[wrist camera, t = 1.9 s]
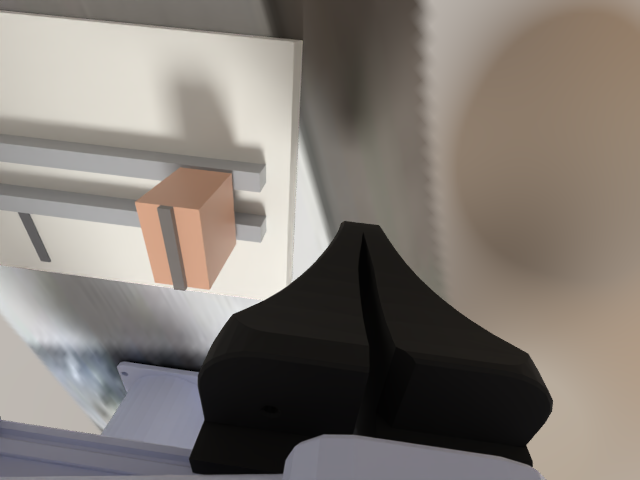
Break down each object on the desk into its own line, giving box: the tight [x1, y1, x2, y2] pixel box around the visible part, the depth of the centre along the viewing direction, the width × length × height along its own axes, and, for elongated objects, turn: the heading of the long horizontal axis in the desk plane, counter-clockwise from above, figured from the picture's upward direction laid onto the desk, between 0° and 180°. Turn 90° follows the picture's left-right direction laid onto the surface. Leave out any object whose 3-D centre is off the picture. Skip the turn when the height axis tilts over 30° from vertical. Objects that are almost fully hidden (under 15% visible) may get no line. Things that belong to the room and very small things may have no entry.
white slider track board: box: [0, 10, 303, 300], centre depth 15 cm, size 12×18×3 cm, turn 86°
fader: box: [135, 167, 236, 291], centre depth 12 cm, size 3×2×4 cm, turn 176°
